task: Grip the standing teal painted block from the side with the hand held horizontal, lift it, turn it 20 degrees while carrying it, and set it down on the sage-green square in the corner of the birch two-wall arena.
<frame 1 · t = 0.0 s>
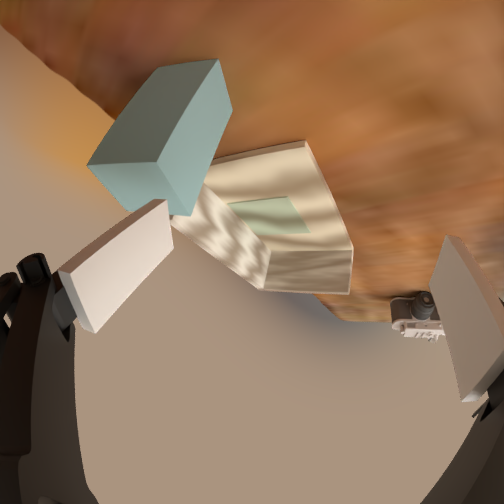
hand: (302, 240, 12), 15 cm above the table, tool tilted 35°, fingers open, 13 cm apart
teal block: (195, 88, 22), on the table
arena: (271, 211, 40), on the table
camera: (424, 294, 58), on the table
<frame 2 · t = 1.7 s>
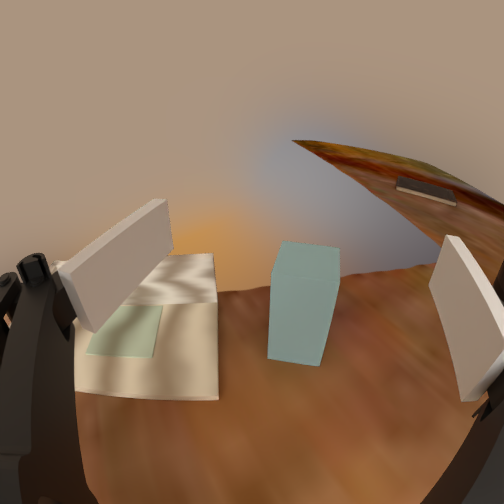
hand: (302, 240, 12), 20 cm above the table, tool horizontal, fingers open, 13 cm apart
teal block: (297, 343, 33), on the table
arena: (127, 335, 33), on the table
hardcover book: (425, 194, 86), on the table
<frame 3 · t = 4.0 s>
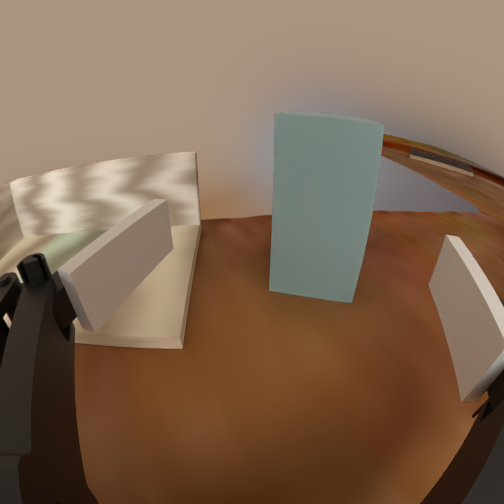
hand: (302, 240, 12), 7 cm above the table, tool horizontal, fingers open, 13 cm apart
teal block: (314, 273, 22), on the table
arena: (74, 264, 23), on the table
hardcover book: (439, 165, 75), on the table
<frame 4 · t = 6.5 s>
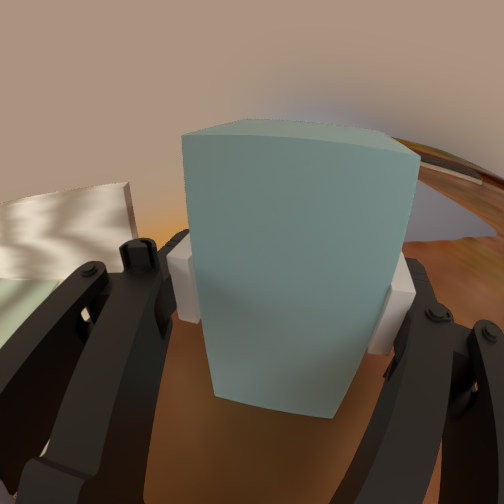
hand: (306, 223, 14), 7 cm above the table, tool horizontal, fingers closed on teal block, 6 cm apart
teal block: (284, 364, 15), on the table, touching gripper
arena: (5, 324, 15), on the table
hardcover book: (445, 171, 69), on the table
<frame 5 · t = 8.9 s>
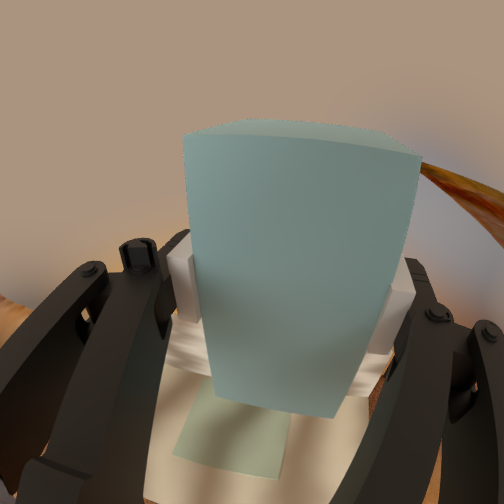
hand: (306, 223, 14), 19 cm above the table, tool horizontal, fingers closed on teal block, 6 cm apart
teal block: (285, 364, 15), point 12 cm above the table, touching gripper
arena: (236, 430, 22), on the table
when the fingers open (9 cm above the table, at t = 11.4 s): teal block drops 1 cm, resting on arena.
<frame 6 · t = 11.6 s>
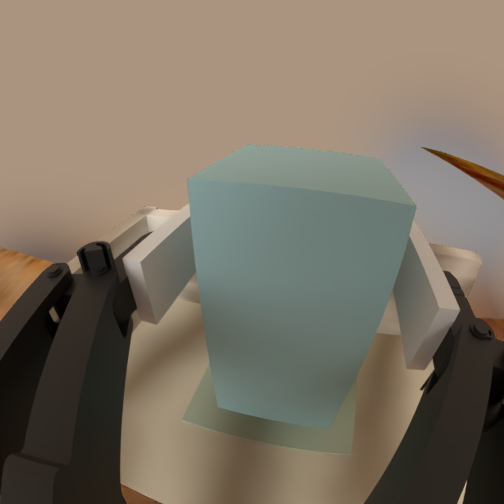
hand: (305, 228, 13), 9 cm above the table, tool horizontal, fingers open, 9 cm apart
teal block: (283, 377, 15), point 1 cm above the table, touching arena
arena: (281, 386, 16), on the table
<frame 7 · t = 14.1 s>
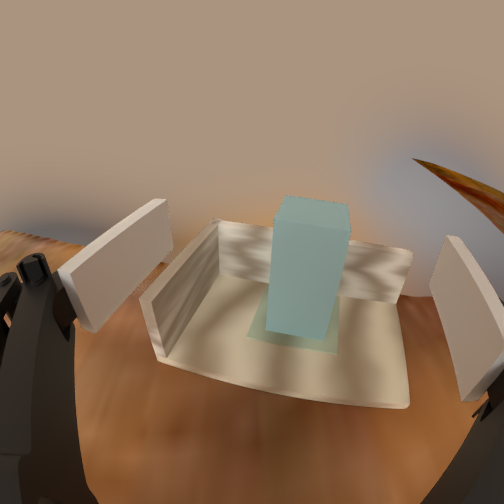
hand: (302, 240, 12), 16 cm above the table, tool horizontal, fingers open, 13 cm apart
teal block: (298, 315, 30), point 1 cm above the table, touching arena
arena: (296, 323, 30), on the table
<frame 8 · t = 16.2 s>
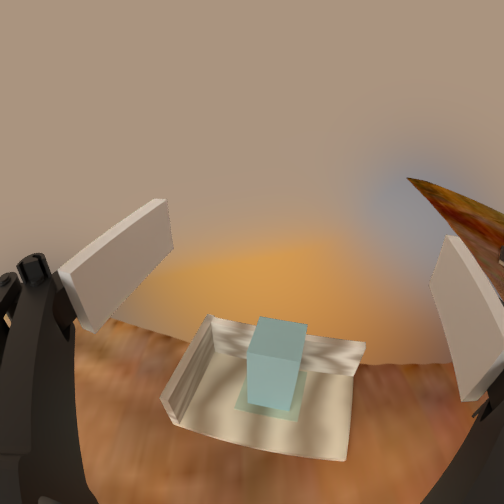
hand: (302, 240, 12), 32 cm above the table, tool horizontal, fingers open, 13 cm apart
teal block: (273, 390, 38), point 1 cm above the table, touching arena
arena: (272, 394, 38), on the table
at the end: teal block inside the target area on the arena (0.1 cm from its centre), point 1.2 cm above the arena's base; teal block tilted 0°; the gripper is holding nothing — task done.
